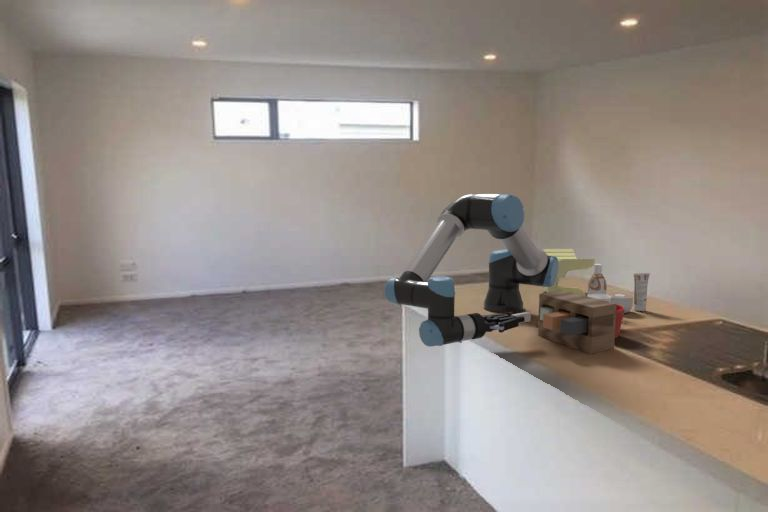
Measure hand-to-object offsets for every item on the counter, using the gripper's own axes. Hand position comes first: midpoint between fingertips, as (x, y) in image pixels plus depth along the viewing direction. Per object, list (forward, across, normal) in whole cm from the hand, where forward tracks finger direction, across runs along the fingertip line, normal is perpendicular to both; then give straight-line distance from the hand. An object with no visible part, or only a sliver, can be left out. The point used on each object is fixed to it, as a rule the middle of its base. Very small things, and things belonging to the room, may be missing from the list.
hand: (528, 316), depth 185 cm
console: (+13, +7, -8) cm, 17 cm away
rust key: (+6, +7, -2) cm, 10 cm away
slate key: (+6, +14, -2) cm, 16 cm away
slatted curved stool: (+61, -45, -8) cm, 77 cm away
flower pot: (+27, +7, -9) cm, 29 cm away
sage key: (+12, 0, -2) cm, 12 cm away
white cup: (+36, -4, -8) cm, 37 cm away
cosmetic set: (+56, -12, -9) cm, 58 cm away
